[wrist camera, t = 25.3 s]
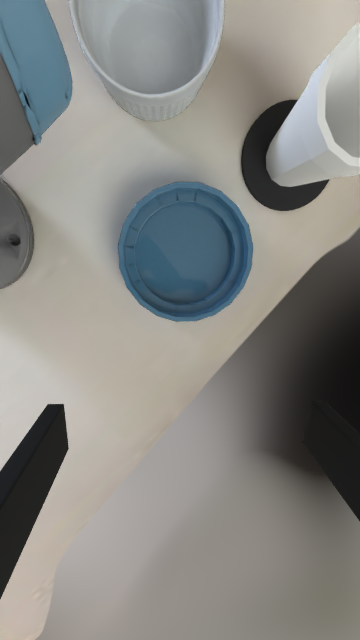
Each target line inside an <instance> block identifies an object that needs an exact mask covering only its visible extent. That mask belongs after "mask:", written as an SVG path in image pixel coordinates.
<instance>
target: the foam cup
mask: <svg viewBox="0 0 360 640" xmlns="http://www.w3.org/2000/svg"><path fill="white" fill-rule="evenodd" d="M266 169H267V171H268V173H269V175H270V177H271V179H272V180H273V181H274V182H276V183H277V184H279V185H280V186H287V187H292V186H293V187H294V186H299V185H303V184H308V183H313V182H318V181H323V180H328V179H332V178H337V177H342V176H348V177H353V176H356V175H358V174H360V22H359V23H357V24H355V25H354V26H353V27H352V28H351V30H350V31H349V32H348V33H347V34H346V35H345V36H344V37H343V39H342V40H341V41H340V42H339V43H338V44H337V45H336V47H335V48H334V49H333V50H332V51H331V52H330V53H329V55H328V56H327V57H326V58H325V59H324V61H323V62H322V63H321V64H320V65H319V66H318V68H317V69H316V70H315V71H314V72H313V73H312V75H311V77H310V80H309V83H308V85H307V87H306V88H305V90H304V92H303V93H302V95H301V96H300V98H299V99H298V101H297V102H296V104H295V106H294V107H293V109H292V110H291V112H290V113H289V115H288V116H287V118H286V119H285V121H284V123H283V124H282V126H281V127H280V129H279V130H278V132H277V133H276V135H275V136H274V138H273V140H272V142H271V143H270V145H269V148H268V151H267V154H266Z"/></svg>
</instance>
